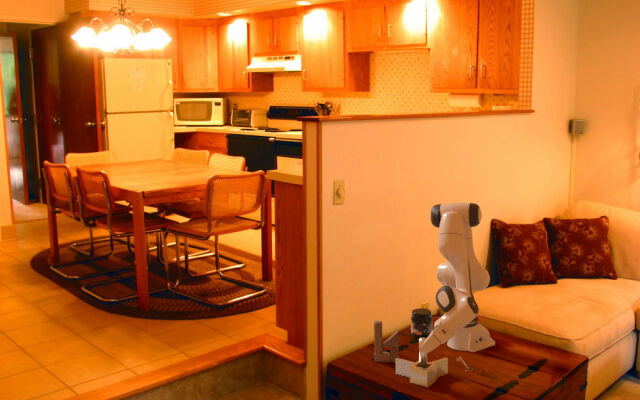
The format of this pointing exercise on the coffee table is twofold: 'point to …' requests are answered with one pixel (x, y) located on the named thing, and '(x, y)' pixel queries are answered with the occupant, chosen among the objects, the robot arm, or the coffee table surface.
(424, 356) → the rounded cylinder
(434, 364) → the cream winged socket block
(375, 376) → the coffee table surface
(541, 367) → the coffee table surface
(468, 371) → the key
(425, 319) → the supplement container
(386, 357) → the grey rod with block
